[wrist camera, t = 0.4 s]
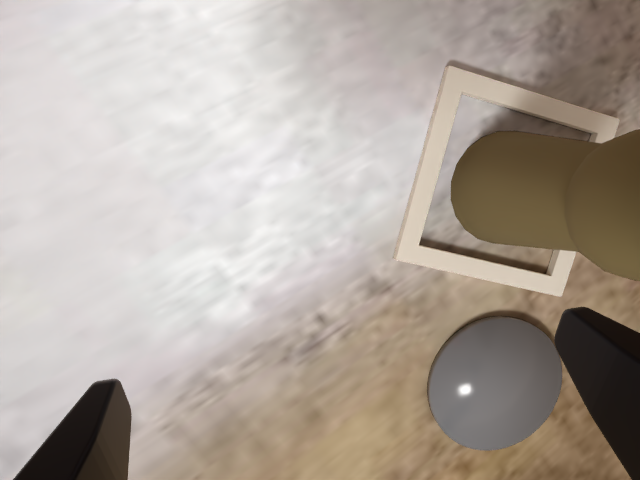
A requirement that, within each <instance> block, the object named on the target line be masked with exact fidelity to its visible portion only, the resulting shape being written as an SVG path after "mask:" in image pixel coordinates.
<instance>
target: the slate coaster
mask: <svg viewBox="0 0 640 480" xmlns="http://www.w3.org/2000/svg"><path fill="white" fill-rule="evenodd" d="M561 384H562V366H561V361H560V357H559V354H558V352H557V350H556V348H555V346H554V344H553V343H552V341H551V340H550V339H549V337H548V336H547V335H546V334H545V333H544V332H542V331H541V330H540V329H538V328H537V327H535V326H533V325H532V324H530V323H528V322H526V321H524V320H521V319H518V318H514V317H509V316H493V317H488V318H483V319H480V320H477V321H475V322H473V323H470V324H468V325H467V326H465V327H463V328H462V329H460V330H459V331H458V332H456V333H455V334H454V335H453V336H452V337H451V338H450V339H449V340H448V341H447V342H446V343H445V344H444V345H443V347H442V348H441V349H440V351H439V352H438V354H437V356H436V357H435V359H434V362H433V364H432V366H431V370H430V373H429V377H428V383H427V395H428V402H429V406H430V410H431V412H432V415H433V417H434V418H435V420H436V422H437V423H438V425H439V426H440V427H441V429H442V430H443V431H444V432H445V434H447V435H448V436H449V437H450V438H451V439H452V440H454V441H455V442H457V443H459V444H461V445H463V446H465V447H468V448H472V449H477V450H497V449H502V448H506V447H509V446H512V445H514V444H516V443H518V442H520V441H522V440H524V439H525V438H527V437H529V436H530V435H531V434H532V433H534V432H535V431H536V430H537V429H538V428H539V427H540V426H541V425H542V424H543V423H544V422H545V420H546V419H547V418H548V417H549V415H550V413H551V412H552V410H553V408H554V406H555V404H556V402H557V399H558V397H559V394H560V389H561Z"/></svg>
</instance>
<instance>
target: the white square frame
mask: <svg viewBox="0 0 640 480" xmlns="http://www.w3.org/2000/svg"><path fill="white" fill-rule="evenodd" d="M461 94H463V95H466V96H470V97H473V98H476V99H479V100H483V101H486V102H489V103H493V104H496V105H499V106H502V107H506V108H509V109H512V110H516V111H519V112H522V113H526V114H529V115H532V116H535V117H539V118H542V119H545V120H549V121H552V122H555V123H558V124H562V125H565V126H568V127H572V128H575V129H578V130H581V131H585V132H588V133H591V136H590V139H589V142H595V143H604V142H606V141H609V140H611V139H614V136H615V133H616V130H617V127H618V124H619V121H620V119H618V118H615V117H611V116H608V115H605V114H602V113H599V112H596V111H592V110H589V109H586V108H583V107H580V106H576V105H573V104H570V103H567V102H564V101H561V100H557V99H554V98H551V97H548V96H545V95H542V94H538V93H535V92H532V91H529V90H526V89H522V88H519V87H516V86H513V85H510V84H507V83H503V82H500V81H497V80H494V79H491V78H488V77H484V76H481V75H478V74H475V73H472V72H469V71H465V70H462V69H459V68H456V67H453V66H447V67H445V70H444V74H443V77H442V81H441V85H440V88H439V92H438V96H437V99H436V103H435V107H434V110H433V114H432V117H431V121H430V125H429V128H428V132H427V136H426V139H425V143H424V147H423V150H422V154H421V157H420V161H419V165H418V168H417V172H416V176H415V179H414V183H413V187H412V190H411V194H410V197H409V201H408V205H407V208H406V212H405V216H404V219H403V223H402V226H401V230H400V234H399V237H398V241H397V245H396V248H395V252H394V256H393V258H394V259H395V260H398V261H403V262H407V263H412V264H416V265H421V266H425V267H430V268H434V269H439V270H443V271H447V272H452V273H456V274H461V275H465V276H470V277H474V278H479V279H483V280H488V281H492V282H497V283H501V284H506V285H510V286H514V287H519V288H523V289H528V290H532V291H537V292H541V293H546V294H550V295H555V296H559V297H562V294H563V291H564V288H565V285H566V282H567V279H568V276H569V273H570V270H571V267H572V264H573V261H574V258H575V255H576V252H575V251H565V250H555V249H554V251H553V254H552V257H551V260H550V263H549V266H548V269H547V272H546V274H543V273H538V272H534V271H530V270H526V269H521V268H517V267H513V266H508V265H504V264H500V263H495V262H491V261H487V260H483V259H478V258H474V257H470V256H465V255H461V254H457V253H452V252H448V251H444V250H440V249H435V248H431V247H427V246H422V245H419V243H420V239H421V235H422V232H423V228H424V225H425V221H426V218H427V214H428V211H429V207H430V204H431V200H432V196H433V193H434V189H435V186H436V182H437V179H438V175H439V172H440V168H441V164H442V161H443V157H444V154H445V150H446V147H447V143H448V140H449V136H450V133H451V129H452V125H453V122H454V118H455V115H456V111H457V108H458V104H459V101H460V97H461Z"/></svg>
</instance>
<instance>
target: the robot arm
mask: <svg viewBox="0 0 640 480" xmlns="http://www.w3.org/2000/svg"><path fill="white" fill-rule="evenodd" d="M554 341H555V346H556V349H557V351H558V353H559V355H560V357H561V359H562V361H563V363H564V365H565V367H566V369H567V371H568V372H569V374H570V376H571V378H572V380H573V382H574V384H575V386H576V388H577V390H578V392H579V394H580V396H581V398H582V400H583V402H584V404H585V405H586V407H587V409H588V411H589V413H590V414H591V416H592V418H593V419H594V421H595V423H596V424H597V426H598V427H599V429H600V431H601V432H602V434H603V435H604V437H605V438H606V440H607V441H608V443H609V445H610V446H611V448H612V449H613V451H614V452H615V454H616V455H617V457H618V459H619V460H620V462H621V463H622V465H623V466H624V468H625V469H626V471H627V473H628V474H629V476H630V477H631V479H632V480H640V333H638V332H636V331H634V330H632V329H630V328H628V327H626V326H624V325H622V324H620V323H618V322H616V321H614V320H612V319H610V318H608V317H605V316H603V315H601V314H599V313H597V312H595V311H593V310H591V309H589V308H586V307H578V308H571V309H567V310H565V311H564V312H563V314H562V316H561V319H560V322H559V325H558V328H557V331H556V334H555V339H554ZM130 432H131V408H130V405H129V402H128V400H127V397H126V395H125V392H124V390H123V387H122V385H121V382H120V381H119V380H118V379H109V380H102V381H97V382H95V383H93V384H92V385H91V386H90V387H89V389H88V390H87V391H86V392H85V393H84V395H83V396H82V397H81V398H80V399H79V401H78V402H77V403H76V404H75V406H74V407H73V408H72V409H71V410H70V412H69V413H68V414H67V415H66V416H65V418H64V419H63V420H62V421H61V422H60V424H59V425H58V426H57V427H56V428H55V430H54V431H53V432H52V433H51V434H50V436H49V437H48V438H47V439H46V440H45V442H44V443H43V444H42V445H41V447H40V448H39V449H38V450H37V451H36V453H35V454H34V455H33V456H32V457H31V459H30V460H29V461H28V462H27V463H26V465H25V466H24V467H23V468H22V469H21V471H20V472H19V473H18V474H17V475H16V477H15V478H14V479H13V480H127V479H128V463H129V448H130Z"/></svg>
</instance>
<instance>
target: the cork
mask: <svg viewBox="0 0 640 480" xmlns="http://www.w3.org/2000/svg"><path fill="white" fill-rule="evenodd" d="M451 202H452V205H453V208H454V212H455V215H456V217H457V219H458V220H459V221H460V223H461V224H462V226H463V227H464V229H465V230H466V231H468V232H469V233H471V234H472V235H473V236H475V237H476V238H478V239H480V240H484V241H487V242H491V243H495V244H505V245H515V246H525V247H535V248H545V249H555V250H565V251H575V252H580V253H581V254H582V255H584V256H585V257H586V258H588V259H589V260H590V261H592V262H593V263H594V264H596V265H597V266H598V267H600V268H601V269H602V270H604V271H606V272H609V273H612V274H615V275H618V276H621V277H625V278H628V279H632V280H635V281H640V130H634V131H632V132H629V133H627V134H624V135H622V136H619V137H616V138H614V139H611V140H609V141H606V142H604V143H595V142H588V141H581V140H574V139H567V138H560V137H553V136H546V135H539V134H532V133H525V132H518V131H497V132H495V133H492V134H489V135H487V136H484V137H481V138H480V139H479V140H478V141H476V142H475V143H474V144H473V145H471V146H470V147H469V148H468V149H467V150H466V151H465V153H464V154H463V156H462V157H461V159H460V160H459V162H458V163H457V165H456V168H455V171H454V174H453V178H452V181H451Z"/></svg>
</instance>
